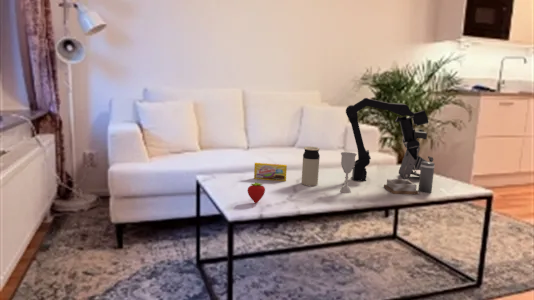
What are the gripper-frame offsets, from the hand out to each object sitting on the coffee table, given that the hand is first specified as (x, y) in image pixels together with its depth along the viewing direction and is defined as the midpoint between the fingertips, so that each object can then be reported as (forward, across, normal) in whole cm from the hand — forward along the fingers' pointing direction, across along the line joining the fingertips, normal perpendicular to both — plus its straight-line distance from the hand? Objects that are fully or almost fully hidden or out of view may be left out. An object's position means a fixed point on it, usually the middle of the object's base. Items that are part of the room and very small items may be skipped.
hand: (414, 158), depth 218 cm
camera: (+14, +17, +1) cm, 22 cm away
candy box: (-9, -17, +72) cm, 74 cm away
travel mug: (-3, -19, +52) cm, 56 cm away
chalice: (+3, -27, +36) cm, 45 cm away
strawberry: (-9, -58, +70) cm, 91 cm away
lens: (+14, -12, 0) cm, 19 cm away
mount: (+11, -15, +11) cm, 22 cm away
